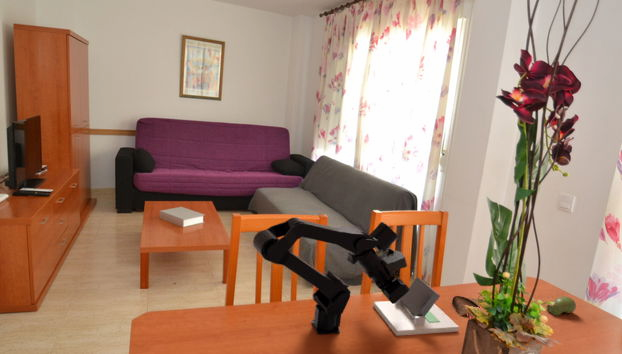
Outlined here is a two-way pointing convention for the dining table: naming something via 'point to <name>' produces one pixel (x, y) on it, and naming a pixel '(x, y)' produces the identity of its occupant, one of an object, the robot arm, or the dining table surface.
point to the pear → (562, 306)
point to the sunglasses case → (461, 301)
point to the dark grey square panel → (419, 298)
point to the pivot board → (414, 319)
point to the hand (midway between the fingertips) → (400, 297)
